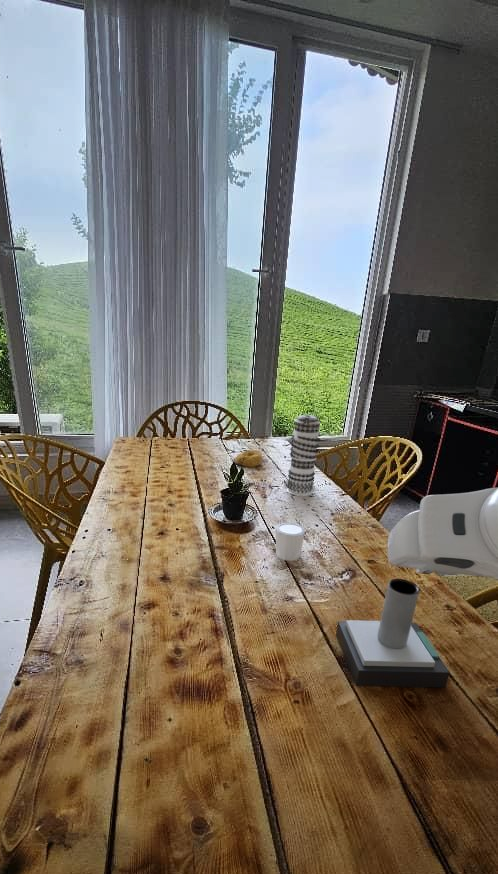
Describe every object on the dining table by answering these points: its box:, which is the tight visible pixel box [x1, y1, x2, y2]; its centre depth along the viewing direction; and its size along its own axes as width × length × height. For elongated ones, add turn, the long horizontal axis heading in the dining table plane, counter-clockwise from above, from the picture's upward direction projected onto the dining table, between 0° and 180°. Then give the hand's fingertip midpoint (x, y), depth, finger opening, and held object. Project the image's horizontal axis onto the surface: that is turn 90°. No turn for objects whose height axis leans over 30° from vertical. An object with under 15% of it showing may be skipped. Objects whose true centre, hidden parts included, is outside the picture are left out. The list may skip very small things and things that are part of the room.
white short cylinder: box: [275, 522, 306, 562], centre depth 105 cm, size 7×7×7 cm
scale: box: [335, 619, 451, 688], centre depth 73 cm, size 14×12×4 cm
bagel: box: [233, 449, 263, 468], centre depth 173 cm, size 10×11×5 cm
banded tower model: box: [286, 414, 322, 497], centre depth 143 cm, size 9×9×25 cm
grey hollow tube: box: [377, 578, 420, 649], centre depth 70 cm, size 4×4×10 cm
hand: (463, 572), depth 54 cm, fingers open, 8 cm apart
